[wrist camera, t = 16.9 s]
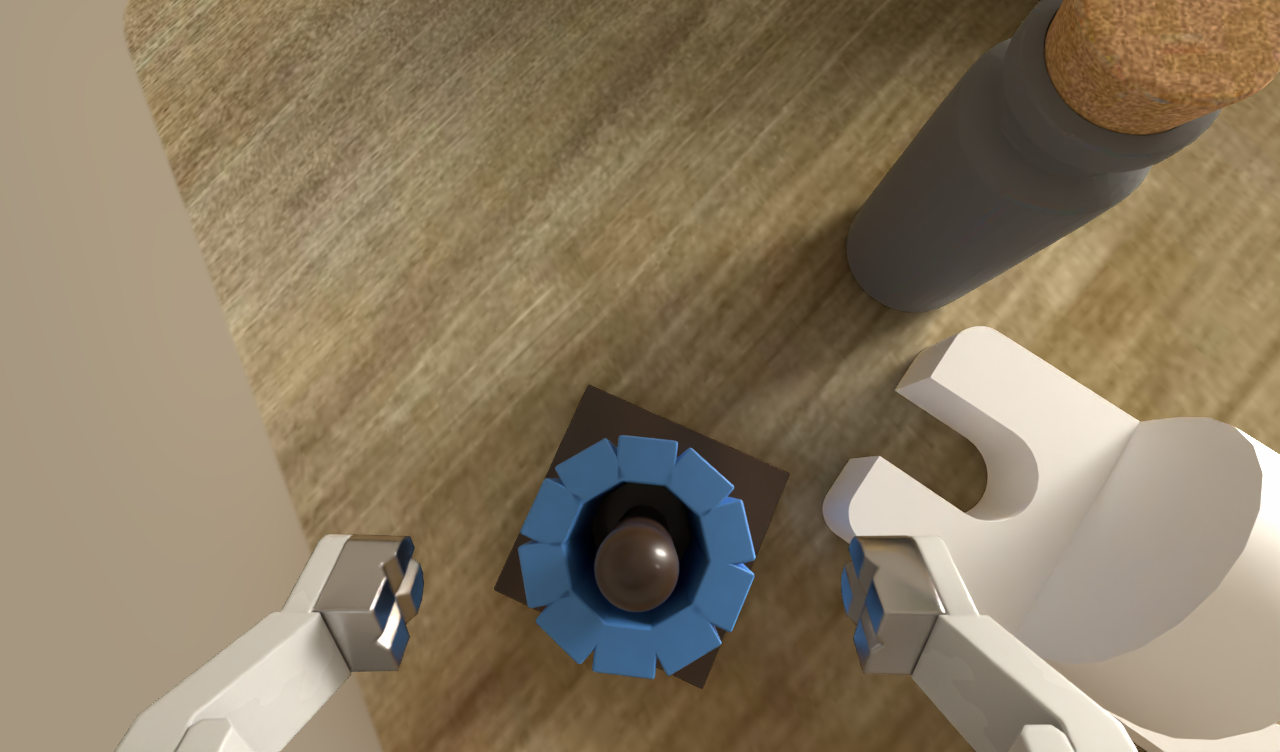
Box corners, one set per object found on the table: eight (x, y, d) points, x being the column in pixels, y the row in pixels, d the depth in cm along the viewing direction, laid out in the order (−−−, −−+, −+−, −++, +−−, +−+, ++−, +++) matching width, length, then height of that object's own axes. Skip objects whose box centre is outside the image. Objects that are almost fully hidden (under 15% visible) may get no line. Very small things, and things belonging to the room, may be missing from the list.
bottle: (989, 211, 29) (1348, -73, 14) (958, 330, 28) (1305, 163, 13) (863, 174, 29) (1082, -141, 14) (829, 291, 28) (1024, 84, 13)
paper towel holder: (501, 583, 27) (360, 681, 14) (591, 389, 28) (539, 312, 15) (699, 677, 26) (746, 874, 13) (782, 473, 27) (900, 468, 14)
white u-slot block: (1201, 789, 25) (1577, 1001, 15) (811, 517, 27) (908, 540, 17) (1311, 581, 26) (1729, 645, 16) (930, 335, 28) (1087, 253, 18)
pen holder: (533, 573, 25) (479, 617, 17) (602, 422, 26) (581, 398, 18) (681, 644, 25) (695, 722, 17) (747, 487, 26) (789, 491, 18)
